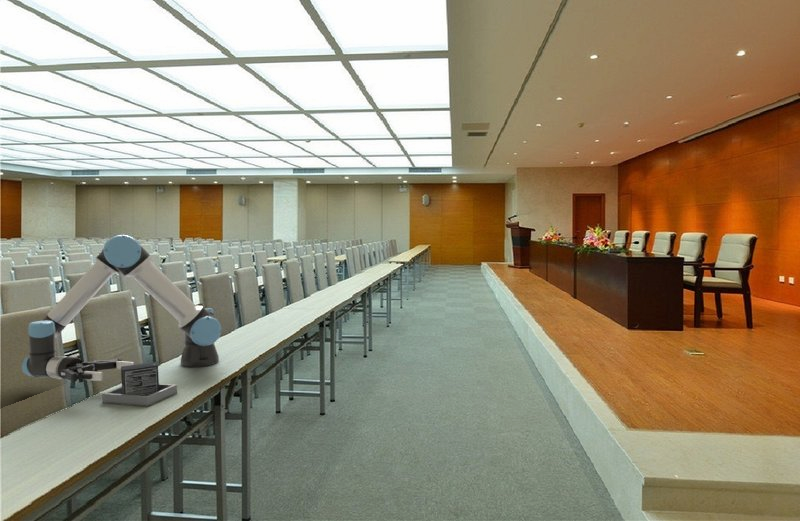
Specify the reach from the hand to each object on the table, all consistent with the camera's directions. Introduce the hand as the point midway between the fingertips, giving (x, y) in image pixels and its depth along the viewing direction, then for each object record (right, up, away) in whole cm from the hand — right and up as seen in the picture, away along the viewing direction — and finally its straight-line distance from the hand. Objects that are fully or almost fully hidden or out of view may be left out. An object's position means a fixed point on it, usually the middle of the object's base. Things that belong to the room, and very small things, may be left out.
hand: (118, 371), depth 170 cm
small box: (+8, -8, -1) cm, 12 cm away
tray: (+8, -9, -2) cm, 12 cm away
